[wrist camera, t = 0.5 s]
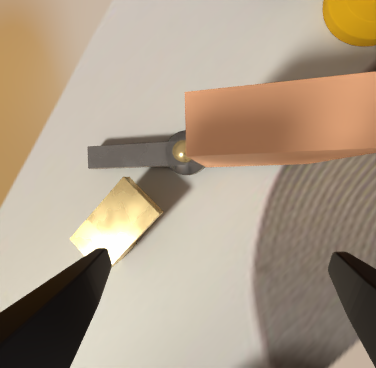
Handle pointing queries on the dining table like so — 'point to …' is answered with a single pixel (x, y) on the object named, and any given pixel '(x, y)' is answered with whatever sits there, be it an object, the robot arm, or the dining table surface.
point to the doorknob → (351, 20)
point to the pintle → (180, 152)
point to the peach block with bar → (262, 126)
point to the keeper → (117, 221)
